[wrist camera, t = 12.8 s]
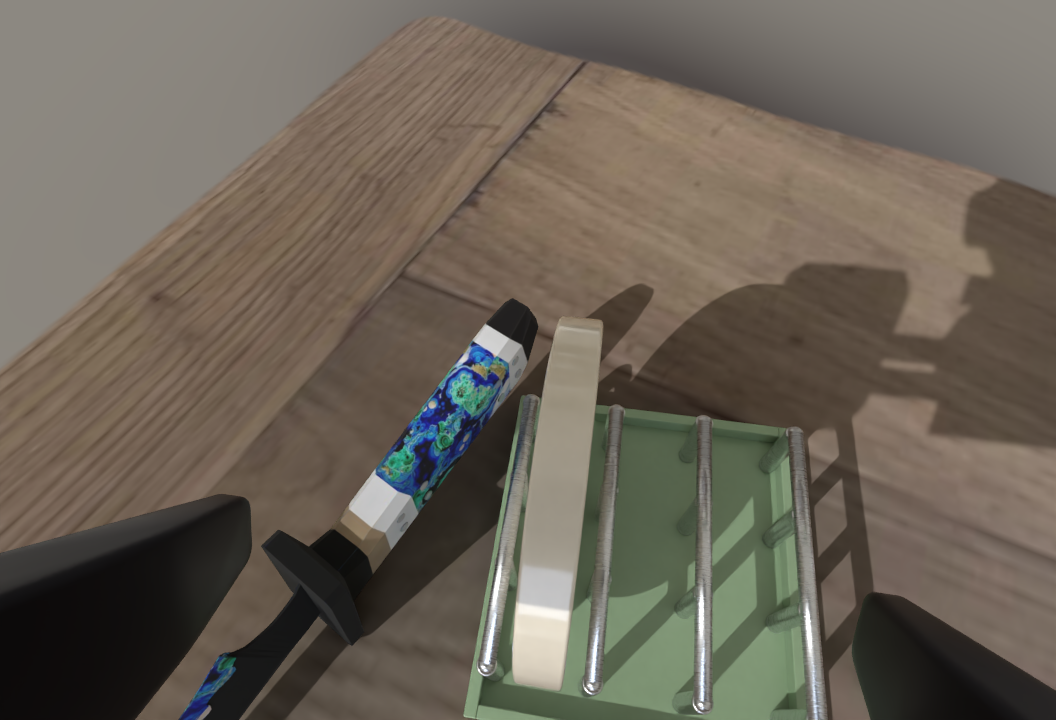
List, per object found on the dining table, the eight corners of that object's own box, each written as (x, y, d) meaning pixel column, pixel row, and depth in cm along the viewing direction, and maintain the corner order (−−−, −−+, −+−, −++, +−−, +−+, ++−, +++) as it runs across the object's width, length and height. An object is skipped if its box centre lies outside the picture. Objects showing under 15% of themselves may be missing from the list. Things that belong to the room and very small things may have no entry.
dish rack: (798, 777, 18) (855, 791, 15) (468, 716, 19) (450, 717, 16) (778, 441, 24) (815, 396, 20) (522, 409, 25) (517, 361, 22)
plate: (562, 698, 19) (571, 685, 10) (519, 690, 19) (492, 671, 10) (592, 416, 24) (617, 243, 15) (558, 412, 24) (562, 238, 15)
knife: (520, 339, 25) (504, 279, 21) (577, 377, 24) (572, 322, 20) (-174, 1121, 17) (-419, 1269, 13) (-133, 1236, 16) (-388, 1438, 12)
